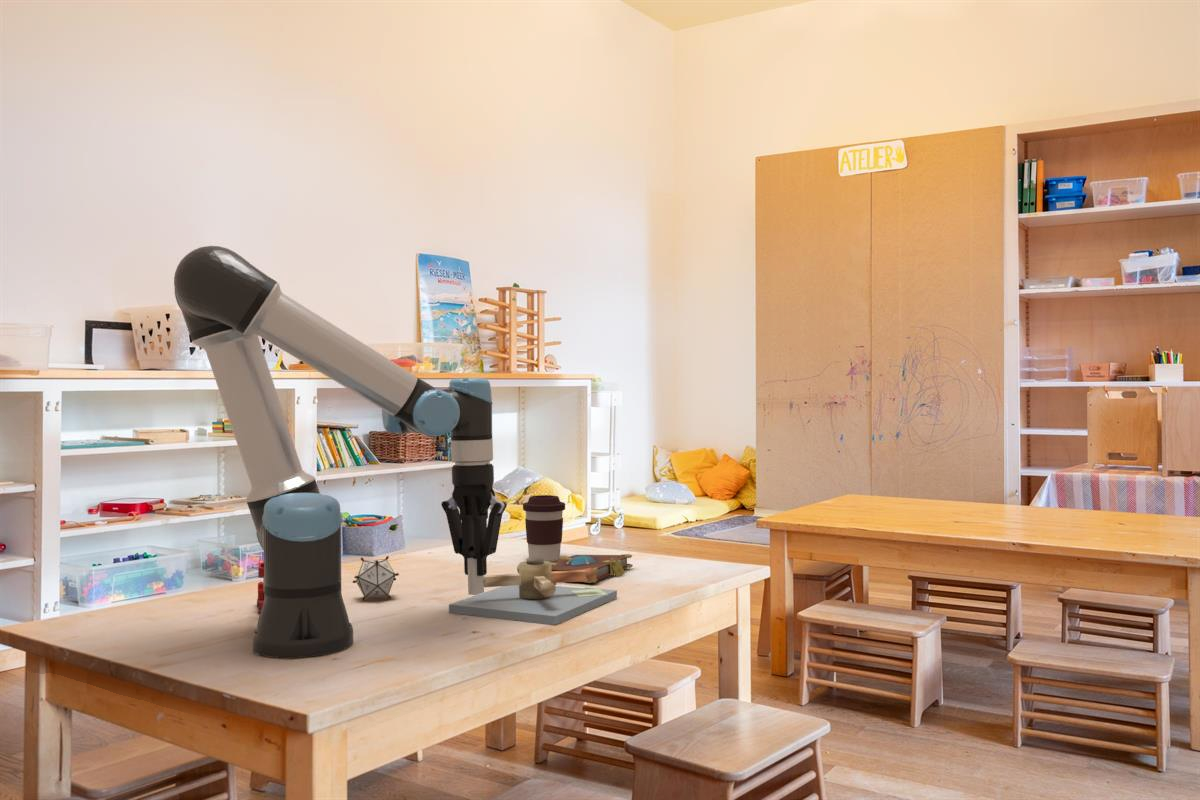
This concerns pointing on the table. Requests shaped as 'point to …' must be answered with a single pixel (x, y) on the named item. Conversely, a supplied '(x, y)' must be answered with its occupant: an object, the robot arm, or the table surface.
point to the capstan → (538, 578)
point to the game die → (375, 578)
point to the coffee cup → (544, 526)
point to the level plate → (533, 604)
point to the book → (594, 564)
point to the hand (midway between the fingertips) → (476, 593)
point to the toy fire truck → (260, 587)
